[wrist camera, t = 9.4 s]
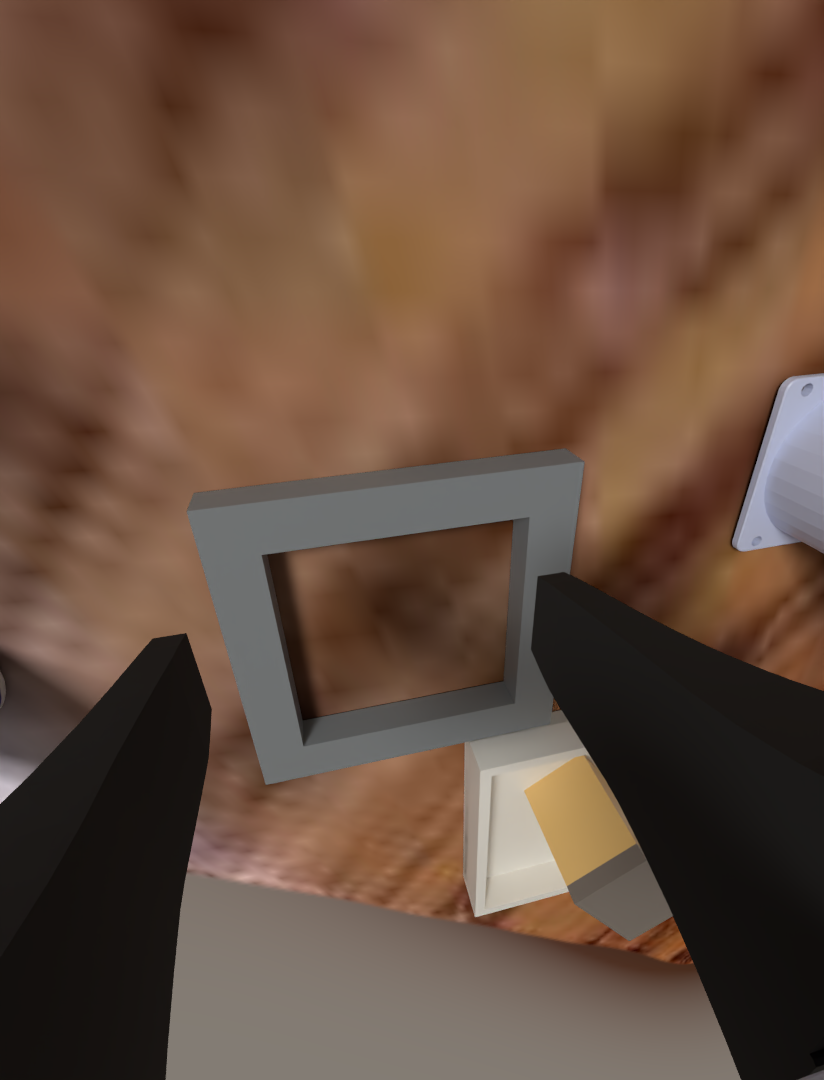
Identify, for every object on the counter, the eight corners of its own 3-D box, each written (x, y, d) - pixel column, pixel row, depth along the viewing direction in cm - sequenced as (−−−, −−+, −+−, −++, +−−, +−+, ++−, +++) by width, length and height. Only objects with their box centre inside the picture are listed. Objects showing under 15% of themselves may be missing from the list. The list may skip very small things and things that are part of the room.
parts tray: (700, 680, 29) (732, 714, 27) (653, 826, 36) (676, 862, 34) (464, 730, 27) (480, 771, 25) (463, 875, 34) (475, 917, 32)
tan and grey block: (582, 752, 29) (646, 860, 24) (628, 800, 32) (693, 903, 27) (524, 790, 29) (574, 904, 24) (575, 833, 33) (629, 941, 28)
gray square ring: (565, 448, 20) (584, 461, 19) (537, 701, 27) (550, 724, 26) (193, 493, 18) (186, 511, 17) (267, 757, 25) (266, 784, 23)
